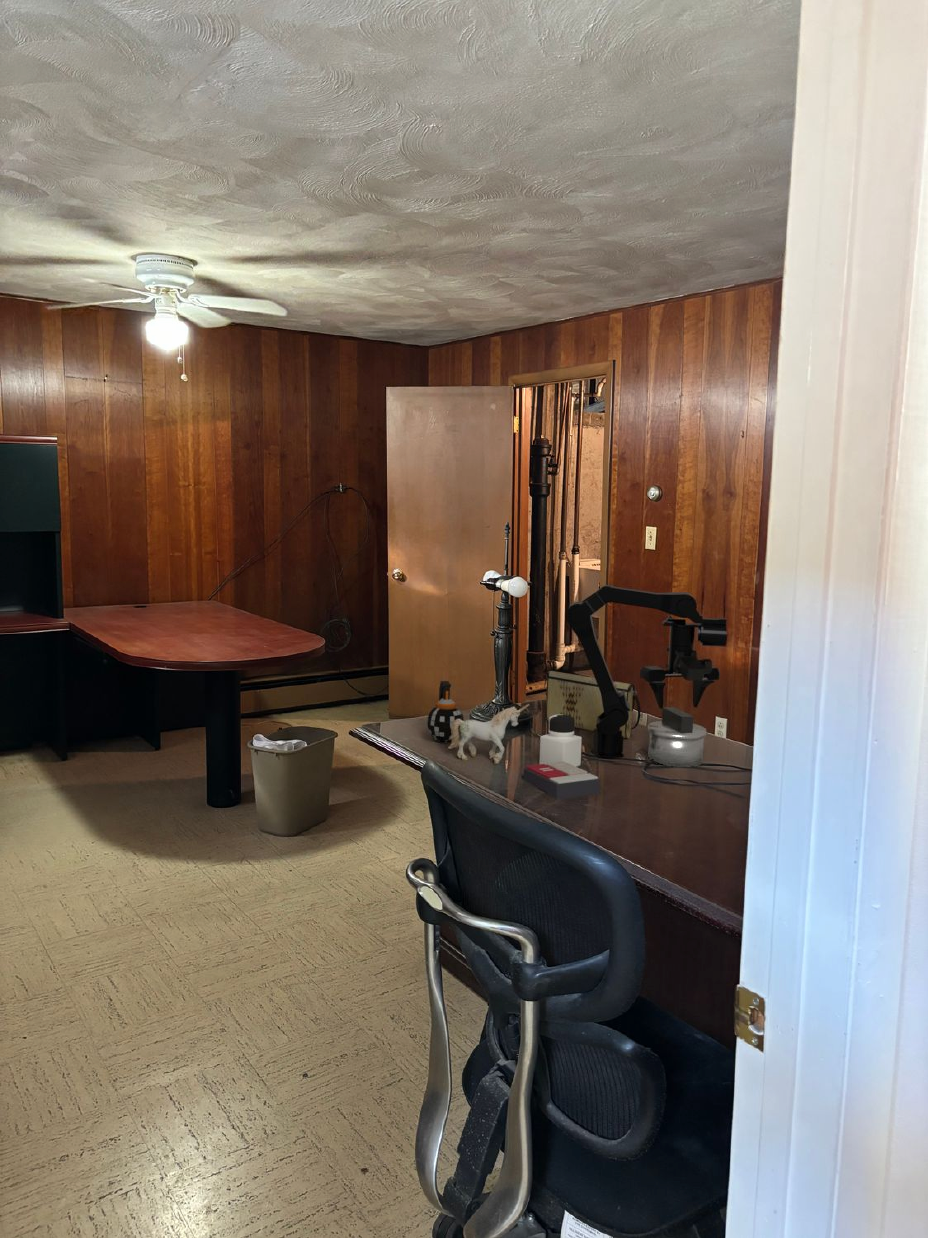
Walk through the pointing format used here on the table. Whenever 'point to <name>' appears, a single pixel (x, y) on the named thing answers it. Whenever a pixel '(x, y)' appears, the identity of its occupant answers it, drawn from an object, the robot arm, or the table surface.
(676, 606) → the robot arm
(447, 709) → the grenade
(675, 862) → the table surface
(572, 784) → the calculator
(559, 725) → the medicine bottle
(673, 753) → the grey cylinder drum
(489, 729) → the unicorn figurine
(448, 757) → the table surface
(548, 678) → the clutch purse
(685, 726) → the lid
